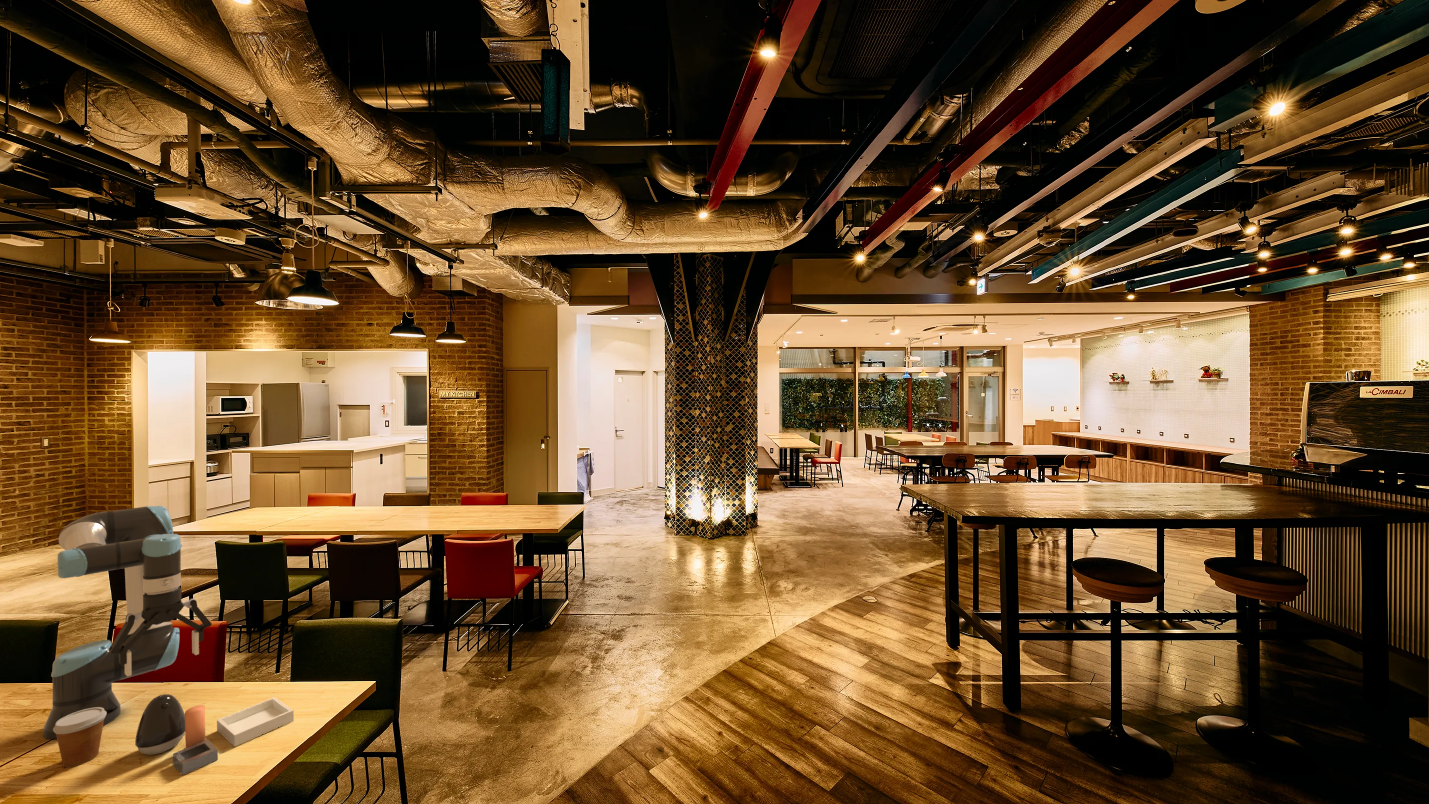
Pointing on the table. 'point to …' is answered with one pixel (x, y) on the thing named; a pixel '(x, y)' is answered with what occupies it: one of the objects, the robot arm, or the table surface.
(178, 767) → the pin mount
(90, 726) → the disposable coffee cup
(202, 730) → the pin
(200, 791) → the table surface
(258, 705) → the dock cradle
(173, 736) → the dark piece
